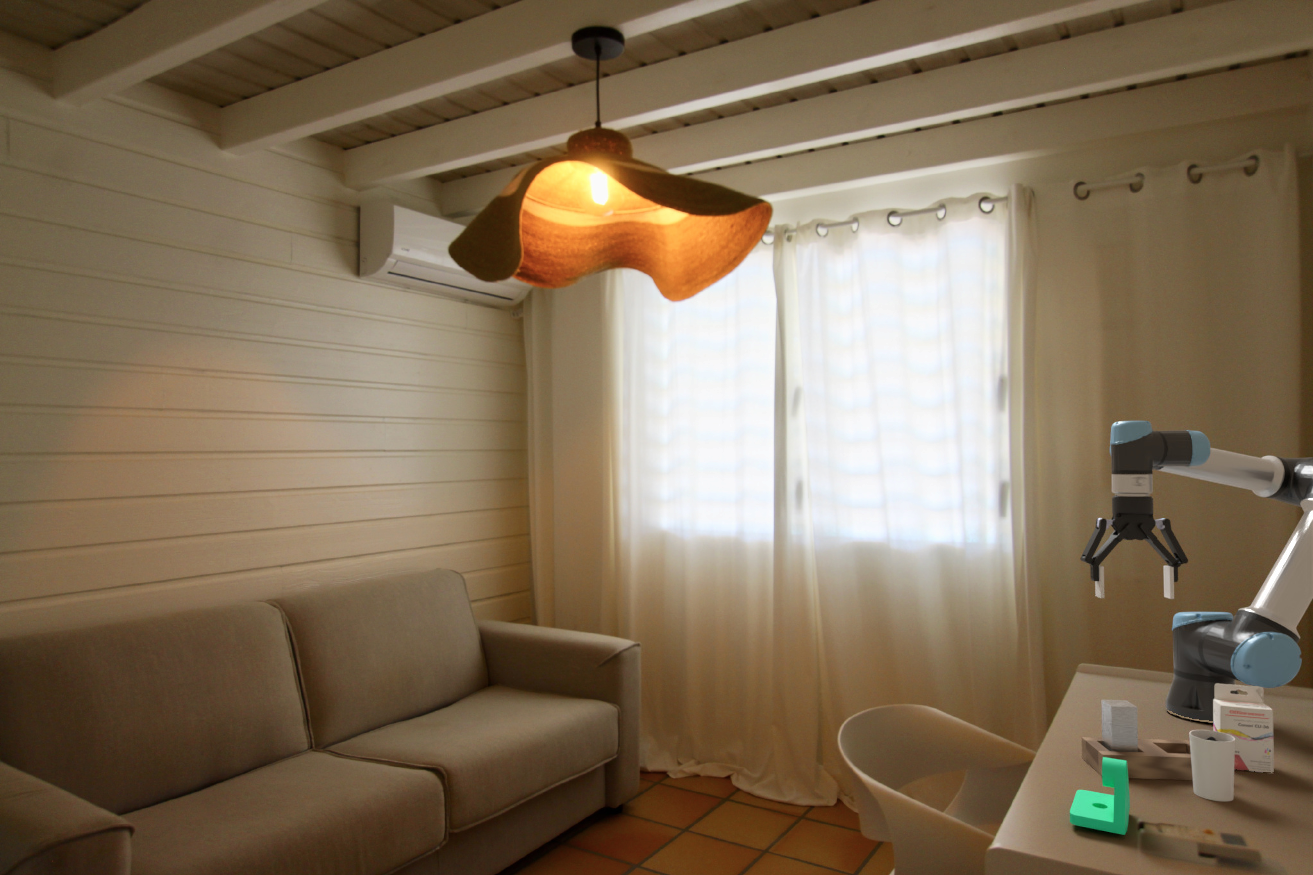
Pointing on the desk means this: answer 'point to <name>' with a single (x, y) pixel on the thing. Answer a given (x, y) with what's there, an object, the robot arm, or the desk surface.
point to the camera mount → (1105, 801)
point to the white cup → (1212, 764)
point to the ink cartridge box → (1245, 725)
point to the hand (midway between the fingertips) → (1134, 597)
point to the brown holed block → (1145, 758)
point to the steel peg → (1119, 726)
